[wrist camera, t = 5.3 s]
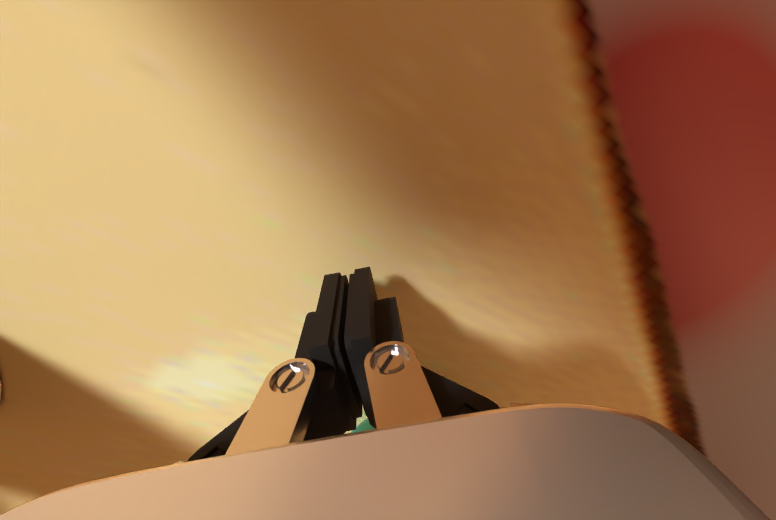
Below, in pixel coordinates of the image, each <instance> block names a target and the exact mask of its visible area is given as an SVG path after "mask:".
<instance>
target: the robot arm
mask: <svg viewBox="0 0 776 520" xmlns="http://www.w3.org/2000/svg"><path fill="white" fill-rule="evenodd" d="M362 404H363V407H364V410H365V414H366V416H367V417H368V420H369V423H370V425H371V426H372V427H374V428H375V429H371V430H365V431H360V432H354V433H348V434H344V433H345V432H346V431H350V430H356V418H359V417H362ZM0 520H770V519H769V518H768V517H767V516H766V515H765V514H764V513H763V512H762V511H761V510H760V509H759V508H758V507H757V506H756V505H755V504H754V503H753V502H752V501H751V500H750V499H749V498H748V497H747V496H746V495H745V494H744V493H743V492H742V491H741V490H740V489H739V488H738V487H737V486H736V485H735V484H734V483H733V482H732V481H731V480H730V479H729V478H728V477H727V476H725V475H724V474H723V473H722V472H721V471H720V470H719V469H718V468H717V467H716V466H715V465H714V464H713V463H711V462H710V461H709V460H708V459H707V458H706V457H705V456H703V455H702V454H701V453H700V452H699V451H698V450H696V449H695V448H694V447H693V446H692V445H690V444H689V443H688V442H687V441H685V440H684V439H682V438H681V437H680V436H678V435H677V434H675V433H674V432H673V431H671V430H669V429H668V428H666V427H664V426H662V425H661V424H659V423H657V422H654V421H652V420H650V419H647V418H645V417H642V416H639V415H636V414H633V413H629V412H625V411H621V410H617V409H612V408H606V407H600V406H593V405H587V404H567V403H553V404H521V403H511V407H510V408H504V407H499V406H498V405H497V404H496V403H494V402H493V401H491V400H490V399H488V398H486V397H484V396H482V395H479V394H477V393H475V392H473V391H471V390H469V389H467V388H465V387H463V386H461V385H459V384H457V383H455V382H453V381H451V380H449V379H447V378H445V377H443V376H441V375H439V374H436V373H434V372H432V371H430V370H428V369H426V368H424V367H422V366H420V364H419V361H418V359H417V356H416V354H415V352H414V350H413V349H412V347H411V346H409V345H408V344H406V343H404V340H403V333H402V328H401V322H400V317H399V312H398V307H397V302H396V298H395V297H392V298H386V299H381V300H378V299H377V295H376V291H375V286H374V282H373V278H372V273H371V269H370V267H366V268H361V269H355V273H354V274H350V278H349V283H348V279H347V276H346V275H344V276H341V274H340V272H339V273H334V274H328V275H325V276H324V280H323V284H322V288H321V292H320V297H319V301H318V305H317V309H316V312H310V313H308V314H307V316H306V319H305V322H304V326H303V330H302V333H301V337H300V341H299V344H298V348H297V352H296V355H295V359H290V360H288V361H285V362H283V363H281V364H280V365H278V366H276V367H275V368H274V369H273V370H272V371H271V372H270V373H269V374H268V376H267V377H266V379H265V381H264V383H263V384H262V386H261V388H260V390H259V392H258V394H257V396H256V398H255V399H254V401H253V403H252V405H251V407H250V409H249V410H248V411H247V412H246V413H244V414H243V415H242V416H241V417H239V418H238V419H237V420H235V421H234V422H233V423H232V424H230V425H229V426H228V427H227V428H225V429H224V430H223V431H222V432H220V433H219V434H218V435H216V436H215V437H214V438H213V439H211V440H210V441H209V442H208V443H206V444H205V445H204V446H203V447H201V448H200V449H199V450H198V451H197V452H196V453H194V454H193V455H192V456H191V457H190V458H189V460H188V461H187V462H183V461H182V460H181V461H179V462H176V463H174V464H171V465H167V466H162V467H156V468H151V469H146V470H140V471H135V472H130V473H125V474H121V475H116V476H112V477H107V478H102V479H98V480H93V481H89V482H84V483H80V484H77V485H74V486H70V487H67V488H63V489H60V490H57V491H54V492H52V493H49V494H46V495H44V496H41V497H39V498H36V499H33V500H31V501H28V502H26V503H24V504H22V505H20V506H18V507H16V508H14V509H11V510H9V511H7V512H5V513H3V514H1V515H0Z"/></svg>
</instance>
